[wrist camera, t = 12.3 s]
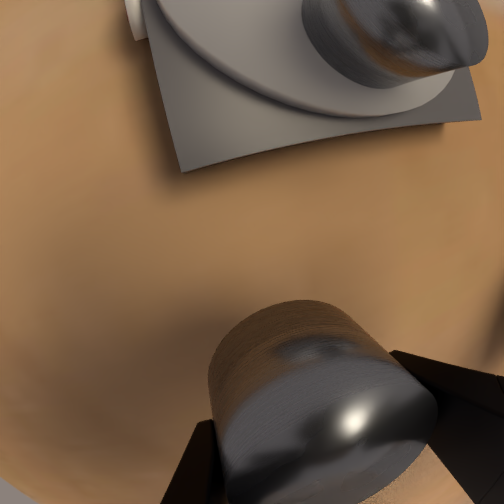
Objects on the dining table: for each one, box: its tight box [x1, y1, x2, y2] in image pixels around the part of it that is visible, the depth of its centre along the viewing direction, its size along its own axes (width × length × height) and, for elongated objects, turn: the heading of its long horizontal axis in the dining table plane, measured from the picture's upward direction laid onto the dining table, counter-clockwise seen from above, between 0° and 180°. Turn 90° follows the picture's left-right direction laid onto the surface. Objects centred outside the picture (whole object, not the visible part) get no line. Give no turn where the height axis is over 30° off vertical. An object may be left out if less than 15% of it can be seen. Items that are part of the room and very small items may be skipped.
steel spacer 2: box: [208, 300, 438, 504], centre depth 7 cm, size 5×5×4 cm
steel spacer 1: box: [301, 0, 488, 89], centre depth 7 cm, size 5×5×4 cm
